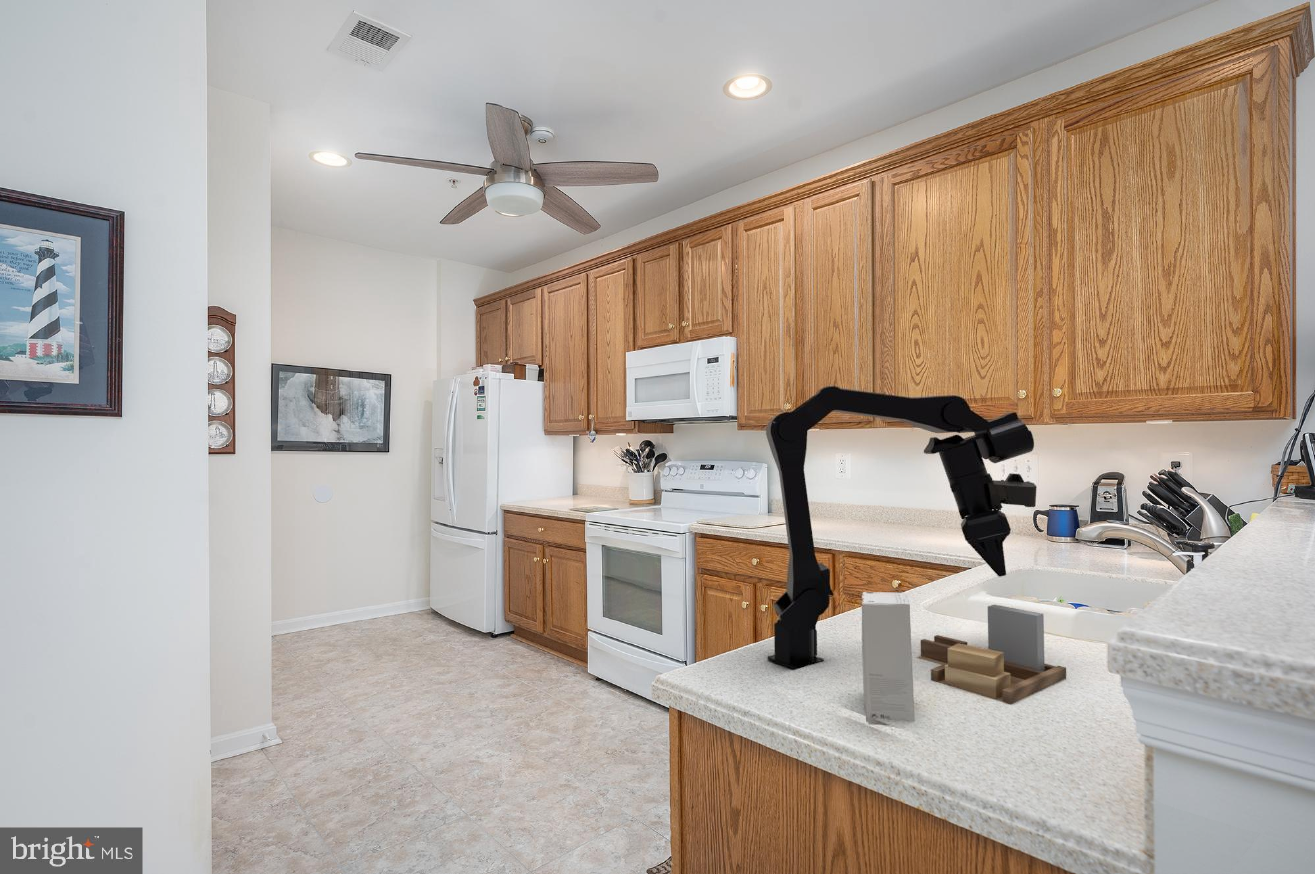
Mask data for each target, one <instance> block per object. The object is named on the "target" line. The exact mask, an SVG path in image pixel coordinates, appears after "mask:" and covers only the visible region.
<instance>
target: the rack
mask: <svg viewBox="0 0 1315 874" xmlns="http://www.w3.org/2000/svg"><path fill="white" fill-rule="evenodd" d="M945 665H948V663H947V664H944V665H941V664H940V665H938V666H936V667H933V668H931V669H930V681H933V682H935V683H939V684H943V685H946V686H949V687H952V688H955V689H959V690H961V691H965V692H969V693H972V694H975V695H979V696H981V697H984V698H988V699H992V700H995V701H998V702H1001V703H1005V704H1008V705H1012V704H1015V703H1017V702H1019V701H1021V700H1023V699H1026V698H1027V697H1030V696H1032V695H1034V694H1035V693H1038V692H1040V691H1043V690H1045V689H1047V688H1049V687H1051V686H1053V685H1055V684H1057V683H1060V682H1062V681H1064V680H1066V679H1067V667H1066V666H1062V665H1052V664H1048V663H1045V672H1043V671H1039V670H1035V669H1031V668H1027V667H1023V666H1019V665H1016V664H1012V663H1008V662H1004V672H1007V673H1010V674H1011V686H1010V687H1008V688H1006V689H1003V690H1002V691H1003V696H1001V697H999V698H997V699H994V698H991V697H988V696H984V695H981V694H978V693H975V692H971V691H968V690H965V689H961V688H958V687H955V686H951V685H948V684H945Z"/></svg>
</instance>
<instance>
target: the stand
mask: <svg viewBox="0 0 1315 874" xmlns="http://www.w3.org/2000/svg"><path fill="white" fill-rule="evenodd" d="M958 643H959V644H964V645H968V642H967V641H964V640H961V639H960V640H959V639H957V638H953V637H947V636H943V635H939V634H936V635H934V636H933V640H930V639H926V638H922V639H920V655H919V656H917V657H916V658H917V659H920V660H923V661H928V662H930V663H934V664H938V665H940V666H941V665H944V664H947V663H948V648H950V647H952V646H954V645H956V644H958Z"/></svg>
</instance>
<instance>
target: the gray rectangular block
mask: <svg viewBox="0 0 1315 874" xmlns="http://www.w3.org/2000/svg"><path fill="white" fill-rule="evenodd" d="M1044 623H1045V621H1044V613H1043V612H1042V613H1041V612H1037V611H1031V610H1024V609H1020V608H1015V607H1009V606H1004V605H998V604H991V605H987V638H988V639H987V642H988V643H987V646H988V648H987V649H989V650H994V651H999V652H1003V654H1004V662H1008V663H1012V664H1016V665H1019V666H1023V667H1027V668H1031V669H1035V670H1039V671H1043V672H1045V664H1046V663H1045V626H1044V625H1045V624H1044Z"/></svg>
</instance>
